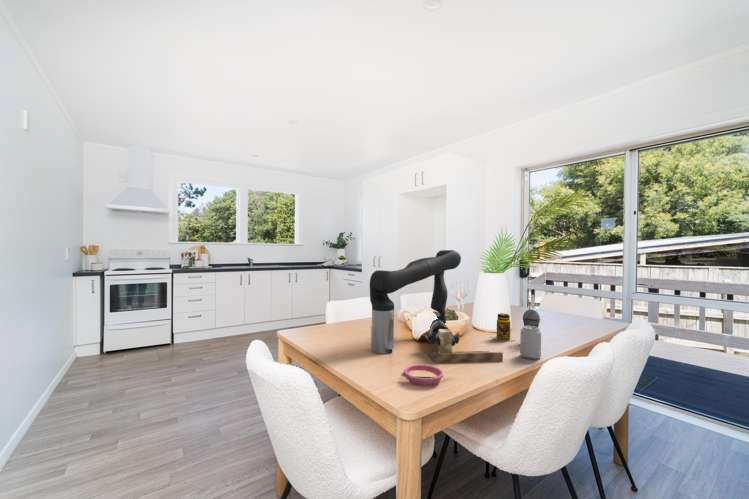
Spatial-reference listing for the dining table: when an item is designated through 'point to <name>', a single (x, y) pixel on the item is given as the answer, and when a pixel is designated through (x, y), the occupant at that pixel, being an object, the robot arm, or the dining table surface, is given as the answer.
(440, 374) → the purple round open piece
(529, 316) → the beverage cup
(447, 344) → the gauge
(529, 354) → the grey square jar
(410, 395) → the dining table surface
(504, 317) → the condiment
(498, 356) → the board
